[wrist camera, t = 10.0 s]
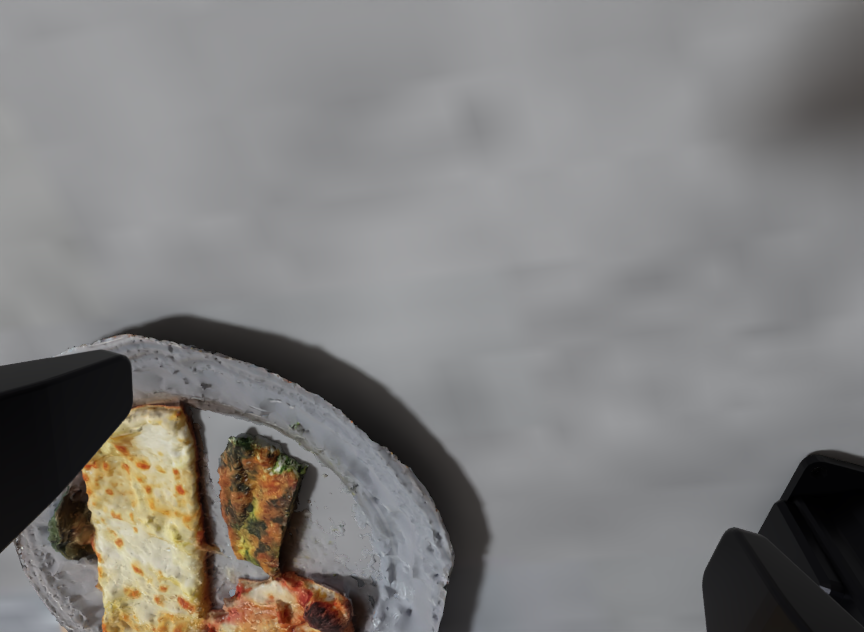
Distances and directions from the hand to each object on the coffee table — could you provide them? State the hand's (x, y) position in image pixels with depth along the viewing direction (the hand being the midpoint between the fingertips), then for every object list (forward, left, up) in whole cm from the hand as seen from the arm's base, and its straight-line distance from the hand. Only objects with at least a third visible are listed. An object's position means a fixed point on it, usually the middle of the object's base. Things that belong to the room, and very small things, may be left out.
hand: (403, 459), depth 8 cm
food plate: (+10, +19, -14) cm, 25 cm away
